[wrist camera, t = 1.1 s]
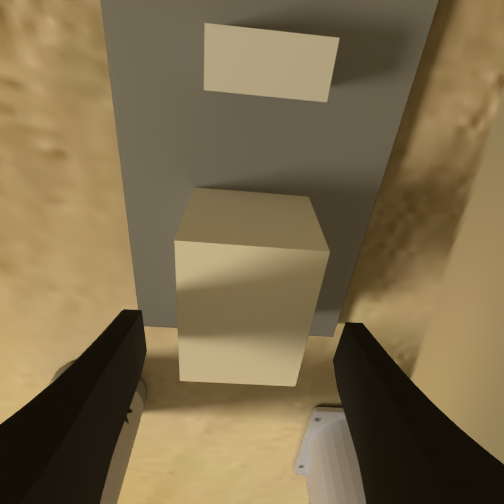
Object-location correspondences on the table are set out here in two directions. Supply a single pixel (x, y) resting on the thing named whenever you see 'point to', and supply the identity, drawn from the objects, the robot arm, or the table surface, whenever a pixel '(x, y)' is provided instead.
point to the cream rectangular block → (246, 285)
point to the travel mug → (120, 443)
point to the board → (257, 118)
